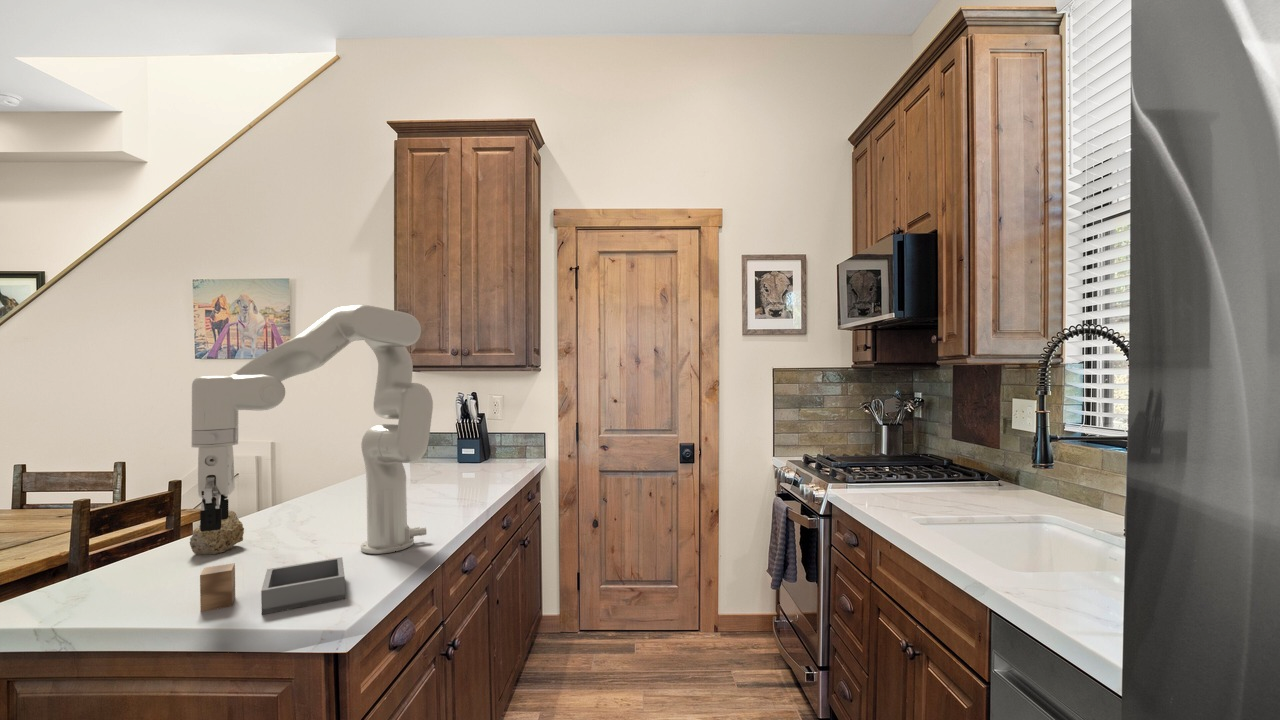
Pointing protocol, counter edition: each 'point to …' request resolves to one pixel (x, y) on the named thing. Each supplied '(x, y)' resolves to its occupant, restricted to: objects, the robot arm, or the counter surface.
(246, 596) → the counter surface
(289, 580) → the bin
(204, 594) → the walnut block
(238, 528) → the rock
